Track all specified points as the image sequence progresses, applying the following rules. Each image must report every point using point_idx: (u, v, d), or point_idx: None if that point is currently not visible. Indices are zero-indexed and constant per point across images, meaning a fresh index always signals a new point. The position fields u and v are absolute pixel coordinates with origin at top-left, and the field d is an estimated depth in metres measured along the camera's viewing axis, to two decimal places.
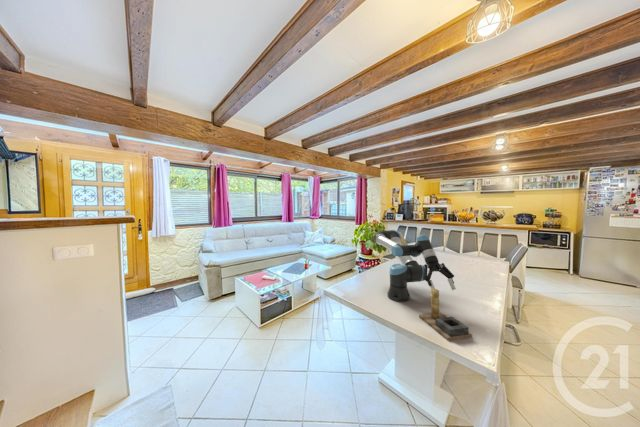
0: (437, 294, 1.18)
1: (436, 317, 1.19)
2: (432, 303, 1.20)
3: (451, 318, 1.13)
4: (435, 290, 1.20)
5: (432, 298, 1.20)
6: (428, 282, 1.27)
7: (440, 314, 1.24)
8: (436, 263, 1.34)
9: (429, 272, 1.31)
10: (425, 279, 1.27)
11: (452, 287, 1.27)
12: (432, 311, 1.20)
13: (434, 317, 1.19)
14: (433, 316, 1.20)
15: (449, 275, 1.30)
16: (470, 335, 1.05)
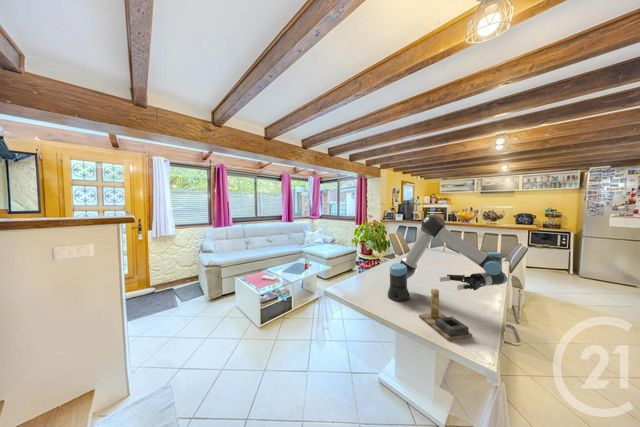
0: (437, 294, 1.18)
1: (436, 317, 1.19)
2: (432, 303, 1.20)
3: (451, 318, 1.13)
4: (435, 290, 1.20)
5: (432, 298, 1.20)
6: (468, 287, 1.14)
7: (440, 314, 1.24)
8: None
9: (472, 284, 1.18)
10: (473, 288, 1.13)
11: (442, 279, 1.28)
12: (432, 311, 1.20)
13: (434, 317, 1.19)
14: (433, 316, 1.20)
15: (451, 279, 1.30)
16: (470, 335, 1.05)
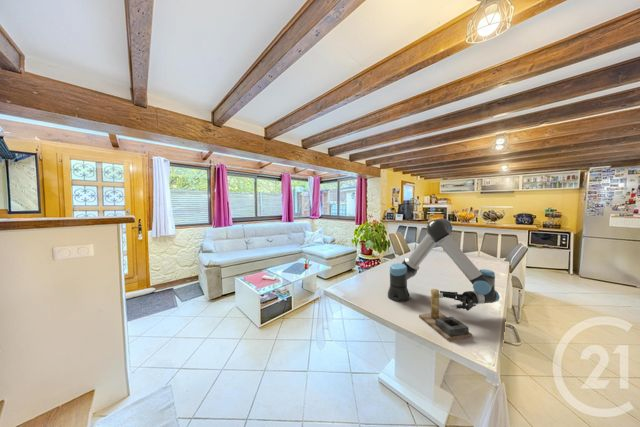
0: (437, 294, 1.18)
1: (436, 317, 1.19)
2: (432, 303, 1.20)
3: (451, 318, 1.13)
4: (435, 290, 1.20)
5: (432, 298, 1.20)
6: (461, 307, 1.13)
7: (440, 314, 1.24)
8: None
9: (465, 303, 1.17)
10: (466, 308, 1.12)
11: None
12: (432, 311, 1.20)
13: (434, 317, 1.19)
14: (433, 316, 1.20)
15: (444, 296, 1.29)
16: (470, 335, 1.05)
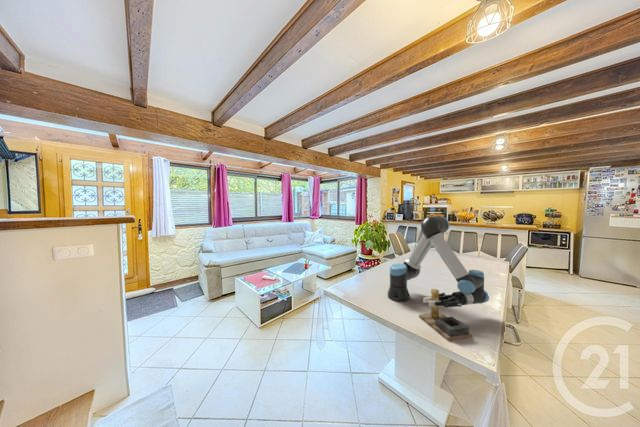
0: (437, 294, 1.18)
1: (436, 317, 1.19)
2: None
3: (451, 318, 1.13)
4: (435, 290, 1.20)
5: (432, 298, 1.20)
6: (439, 304, 1.17)
7: (440, 314, 1.24)
8: None
9: None
10: (444, 305, 1.16)
11: (426, 300, 1.22)
12: (432, 311, 1.20)
13: (434, 317, 1.19)
14: (433, 316, 1.20)
15: None
16: (470, 335, 1.05)
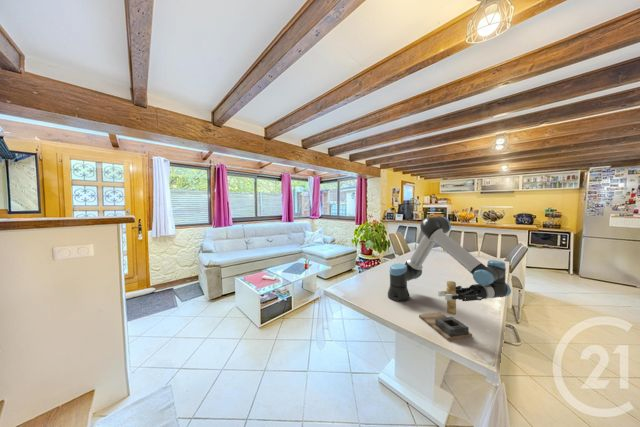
0: (454, 287, 1.06)
1: (453, 312, 1.07)
2: None
3: (451, 318, 1.13)
4: (452, 282, 1.08)
5: (448, 291, 1.08)
6: (457, 298, 1.05)
7: (440, 314, 1.24)
8: None
9: None
10: (462, 299, 1.03)
11: (441, 293, 1.10)
12: (448, 305, 1.08)
13: (451, 312, 1.07)
14: (449, 311, 1.07)
15: None
16: (470, 335, 1.05)
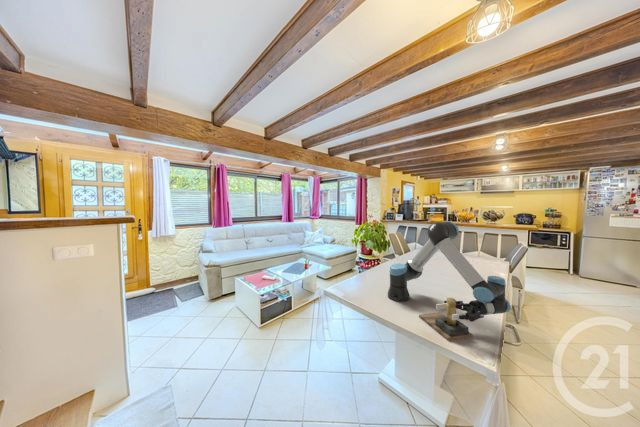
0: (454, 304, 1.07)
1: None
2: (448, 314, 1.08)
3: None
4: (451, 299, 1.08)
5: (448, 308, 1.08)
6: (464, 318, 1.02)
7: (440, 314, 1.24)
8: None
9: (471, 314, 1.06)
10: (470, 319, 1.01)
11: (439, 306, 1.13)
12: (448, 322, 1.08)
13: None
14: None
15: None
16: (470, 335, 1.05)
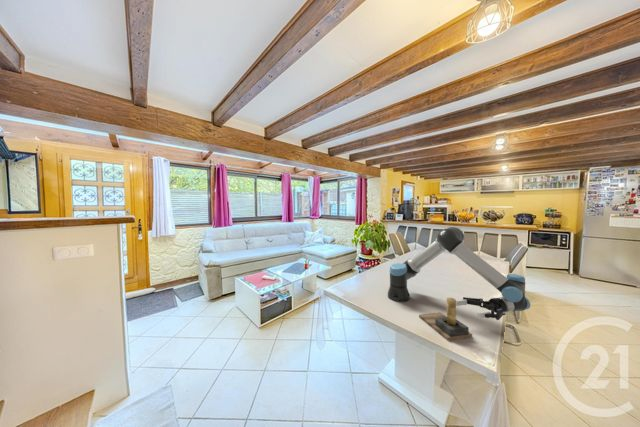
0: (454, 304, 1.07)
1: None
2: (448, 314, 1.08)
3: None
4: (451, 299, 1.08)
5: (448, 308, 1.08)
6: (490, 316, 1.03)
7: (440, 314, 1.24)
8: None
9: (494, 311, 1.07)
10: (496, 318, 1.02)
11: (458, 303, 1.17)
12: (448, 322, 1.08)
13: None
14: None
15: (468, 303, 1.18)
16: (470, 335, 1.05)
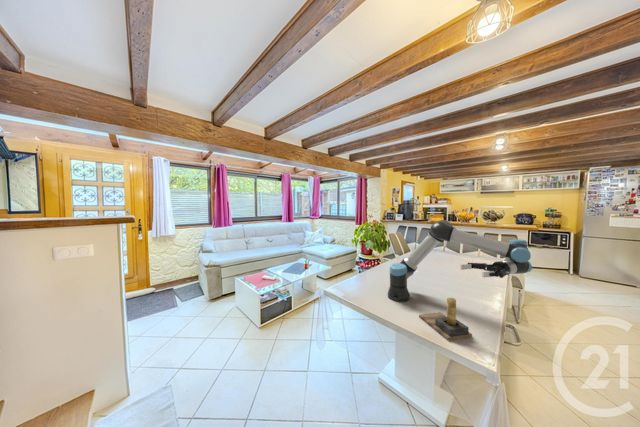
0: (454, 304, 1.07)
1: None
2: (448, 313, 1.08)
3: None
4: (452, 299, 1.08)
5: (448, 308, 1.08)
6: (494, 275, 1.08)
7: (440, 314, 1.24)
8: None
9: None
10: (500, 276, 1.07)
11: (463, 267, 1.22)
12: (448, 322, 1.08)
13: None
14: None
15: None
16: (470, 335, 1.05)
